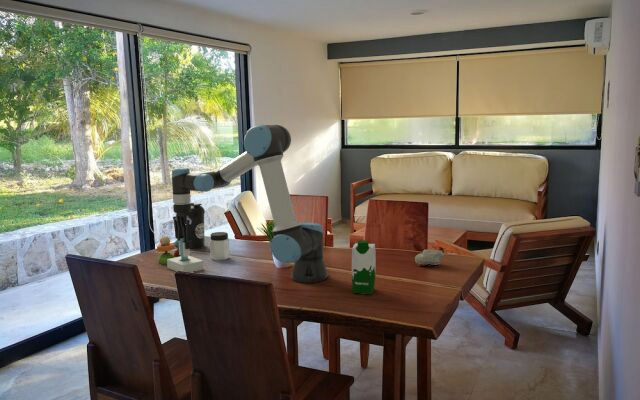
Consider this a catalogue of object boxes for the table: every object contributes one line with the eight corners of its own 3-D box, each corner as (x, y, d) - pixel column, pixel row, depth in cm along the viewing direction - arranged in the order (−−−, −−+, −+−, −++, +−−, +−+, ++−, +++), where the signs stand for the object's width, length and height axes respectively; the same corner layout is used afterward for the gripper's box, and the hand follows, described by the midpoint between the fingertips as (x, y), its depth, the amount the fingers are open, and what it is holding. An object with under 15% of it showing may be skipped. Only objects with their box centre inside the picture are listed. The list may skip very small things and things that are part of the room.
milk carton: (350, 294, 194) (350, 242, 191) (354, 287, 203) (354, 237, 200) (373, 296, 192) (373, 243, 189) (376, 288, 201) (376, 238, 198)
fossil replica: (411, 264, 234) (422, 272, 225) (411, 247, 232) (422, 254, 223) (435, 259, 238) (447, 267, 229) (435, 242, 236) (447, 249, 227)
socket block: (203, 269, 229) (203, 260, 229) (183, 274, 222) (183, 265, 222) (187, 263, 239) (186, 255, 239) (167, 267, 232) (166, 259, 232)
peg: (189, 264, 231) (188, 238, 229) (183, 266, 229) (182, 239, 227) (186, 263, 233) (184, 237, 231) (180, 264, 231) (178, 238, 229)
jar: (232, 258, 247) (231, 233, 246) (217, 261, 242) (216, 236, 240) (223, 254, 254) (222, 230, 252) (208, 257, 249) (207, 233, 247)
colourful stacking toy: (189, 265, 237) (187, 238, 235) (154, 263, 240) (152, 237, 238) (204, 255, 254) (203, 230, 252) (172, 254, 257) (170, 229, 256)
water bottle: (196, 250, 264) (193, 205, 260) (182, 247, 269) (179, 204, 266) (210, 246, 272) (208, 203, 269) (196, 243, 278) (194, 201, 274)
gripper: (199, 204, 223) (201, 257, 227) (180, 200, 235) (182, 250, 238) (183, 206, 218) (186, 260, 222) (165, 202, 229) (167, 253, 233)
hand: (184, 255), depth 230 cm, fingers closed on peg, 3 cm apart
